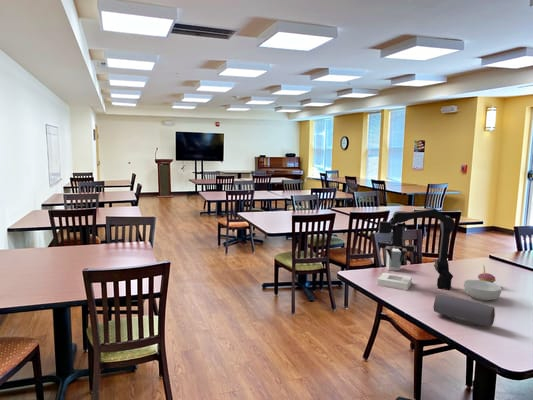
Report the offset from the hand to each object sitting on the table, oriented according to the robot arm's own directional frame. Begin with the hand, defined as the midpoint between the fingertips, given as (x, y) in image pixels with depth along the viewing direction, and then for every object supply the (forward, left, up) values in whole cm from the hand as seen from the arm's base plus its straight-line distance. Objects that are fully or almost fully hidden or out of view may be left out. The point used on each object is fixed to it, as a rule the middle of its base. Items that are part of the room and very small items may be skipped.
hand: (396, 261), depth 217 cm
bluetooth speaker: (-36, +36, -13) cm, 52 cm away
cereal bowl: (-43, -1, -13) cm, 45 cm away
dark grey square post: (0, 0, -3) cm, 3 cm away
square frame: (0, 0, -13) cm, 13 cm away
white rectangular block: (+7, -30, -13) cm, 34 cm away
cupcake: (-45, -24, -13) cm, 53 cm away
